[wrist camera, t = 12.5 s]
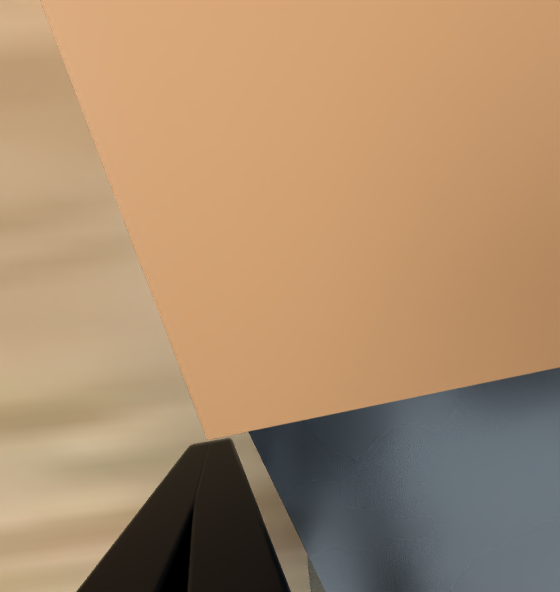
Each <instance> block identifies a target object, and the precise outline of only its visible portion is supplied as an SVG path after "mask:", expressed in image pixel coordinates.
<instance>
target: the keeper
mask: <svg viewBox="0 0 560 592" xmlns="http://www.w3.org/2000/svg"><path fill="white" fill-rule="evenodd" d="M40 1H41V3H42V6H43V9H44V11H45V14H46V17H47V19H48V22H49V25H50V27H51V30H52V32H53V35H54V38H55V40H56V43H57V46H58V48H59V51H60V53H61V56H62V59H63V61H64V64H65V67H66V69H67V72H68V75H69V77H70V80H71V82H72V85H73V88H74V90H75V93H76V96H77V98H78V101H79V104H80V106H81V109H82V111H83V114H84V117H85V119H86V122H87V125H88V127H89V130H90V132H91V135H92V138H93V140H94V143H95V146H96V148H97V151H98V154H99V156H100V159H101V161H102V164H103V167H104V169H105V172H106V175H107V177H108V180H109V183H110V185H111V188H112V190H113V193H114V196H115V198H116V201H117V204H118V206H119V209H120V211H121V214H122V217H123V219H124V222H125V225H126V227H127V230H128V233H129V235H130V238H131V240H132V243H133V246H134V248H135V251H136V254H137V256H138V259H139V262H140V264H141V267H142V269H143V272H144V275H145V277H146V280H147V283H148V285H149V288H150V290H151V293H152V296H153V298H154V301H155V304H156V306H157V309H158V312H159V314H160V317H161V319H162V322H163V325H164V327H165V330H166V333H167V335H168V338H169V341H170V343H171V346H172V348H173V351H174V354H175V356H176V359H177V362H178V364H179V367H180V369H181V372H182V375H183V377H184V380H185V383H186V385H187V388H188V391H189V393H190V396H191V398H192V401H193V404H194V406H195V409H196V412H197V414H198V417H199V420H200V422H201V425H202V427H203V430H204V433H205V435H206V438H207V440H209V439H214V438H219V437H224V436H229V435H234V434H238V433H243V432H248V431H253V430H258V429H263V428H268V427H272V426H277V425H282V424H287V423H292V422H297V421H302V420H306V419H311V418H316V417H321V416H326V415H331V414H336V413H340V412H345V411H350V410H355V409H360V408H365V407H369V406H374V405H379V404H384V403H389V402H394V401H399V400H403V399H408V398H413V397H418V396H423V395H428V394H433V393H437V392H442V391H447V390H452V389H457V388H462V387H467V386H471V385H476V384H481V383H486V382H491V381H496V380H500V379H505V378H510V377H515V376H520V375H525V374H530V373H534V372H539V371H544V370H549V369H554V368H559V367H560V0H40Z"/></svg>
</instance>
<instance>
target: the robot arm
mask: <svg viewBox="0 0 560 592" xmlns="http://www.w3.org/2000/svg"><path fill="white" fill-rule="evenodd" d="M77 592H291V591H290V588H289V586H288V583H287V581H286V578H285V575H284V573H283V570H282V568H281V565H280V562H279V560H278V557H277V555H276V552H275V549H274V547H273V544H272V542H271V539H270V537H269V534H268V531H267V529H266V526H265V524H264V521H263V518H262V516H261V513H260V511H259V508H258V505H257V503H256V500H255V498H254V495H253V492H252V490H251V487H250V485H249V482H248V479H247V477H246V474H245V472H244V469H243V467H242V464H241V461H240V459H239V456H238V454H237V451H236V448H235V446H234V443H233V441H232V439H230V438H226V439H220V440H214V441H208V442H203V443H197V444H193V445H191V446H189V447H188V448H187V450H186V451H185V452H184V454H183V455H182V456H181V457H180V459H179V460H178V461H177V463H176V464H175V465H174V466H173V468H172V469H171V470H170V472H169V473H168V474H167V476H166V477H165V478H164V479H163V481H162V482H161V483H160V485H159V486H158V487H157V488H156V490H155V491H154V492H153V494H152V495H151V496H150V497H149V499H148V500H147V501H146V503H145V504H144V505H143V506H142V508H141V509H140V510H139V512H138V513H137V514H136V516H135V517H134V518H133V519H132V521H131V522H130V523H129V525H128V526H127V527H126V528H125V530H124V531H123V532H122V534H121V535H120V536H119V537H118V539H117V540H116V541H115V543H114V544H113V545H112V546H111V548H110V549H109V550H108V552H107V553H106V554H105V556H104V557H103V558H102V559H101V561H100V562H99V563H98V565H97V566H96V567H95V568H94V570H93V571H92V572H91V574H90V575H89V576H88V577H87V579H86V580H85V581H84V583H83V584H82V585H81V586H80V588H79V589H78V590H77Z"/></svg>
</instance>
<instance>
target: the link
mask: <svg viewBox="0 0 560 592" xmlns="http://www.w3.org/2000/svg"><path fill="white" fill-rule="evenodd" d="M248 432H249V434H250V436H251V438H252V440H253V442H254V444H255V446H256V448H257V450H258V452H259V454H260V456H261V459H262V461H263V463H264V465H265V467H266V469H267V471H268V473H269V475H270V477H271V479H272V481H273V483H274V486H275V488H276V490H277V492H278V494H279V496H280V498H281V500H282V502H283V504H284V506H285V508H286V510H287V512H288V515H289V517H290V519H291V521H292V523H293V525H294V527H295V529H296V531H297V533H298V535H299V537H300V539H301V542H302V544H303V546H304V548H305V550H306V552H307V558H308V568H309V578H310V589H311V592H560V367H559V368H554V369H549V370H544V371H539V372H534V373H530V374H525V375H520V376H515V377H510V378H505V379H500V380H496V381H491V382H486V383H481V384H476V385H471V386H467V387H462V388H457V389H452V390H447V391H442V392H437V393H433V394H428V395H423V396H418V397H413V398H408V399H403V400H399V401H394V402H389V403H384V404H379V405H374V406H369V407H365V408H360V409H355V410H350V411H345V412H340V413H336V414H331V415H326V416H321V417H316V418H311V419H306V420H302V421H297V422H292V423H287V424H282V425H277V426H272V427H268V428H263V429H258V430H253V431H248Z"/></svg>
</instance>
